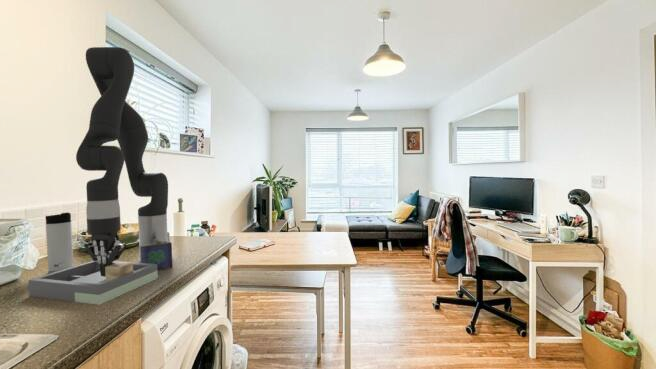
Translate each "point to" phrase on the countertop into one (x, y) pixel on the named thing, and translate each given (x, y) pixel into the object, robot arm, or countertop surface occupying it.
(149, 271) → the tray
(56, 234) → the travel mug
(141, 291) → the countertop surface
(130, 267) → the maple cube
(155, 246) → the flask
